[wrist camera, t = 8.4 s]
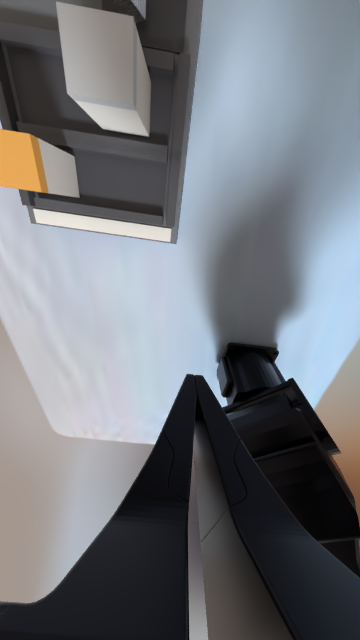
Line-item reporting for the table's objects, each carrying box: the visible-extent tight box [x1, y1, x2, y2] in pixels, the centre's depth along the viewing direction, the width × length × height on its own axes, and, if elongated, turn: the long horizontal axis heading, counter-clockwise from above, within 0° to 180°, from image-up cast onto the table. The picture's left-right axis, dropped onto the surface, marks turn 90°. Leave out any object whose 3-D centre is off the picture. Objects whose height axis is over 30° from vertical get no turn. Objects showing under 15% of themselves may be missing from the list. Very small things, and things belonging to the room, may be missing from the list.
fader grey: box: [56, 2, 151, 137], centre depth 10 cm, size 3×2×4 cm
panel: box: [0, 0, 203, 244], centre depth 13 cm, size 12×12×3 cm
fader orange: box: [0, 129, 80, 198], centre depth 11 cm, size 3×2×4 cm
